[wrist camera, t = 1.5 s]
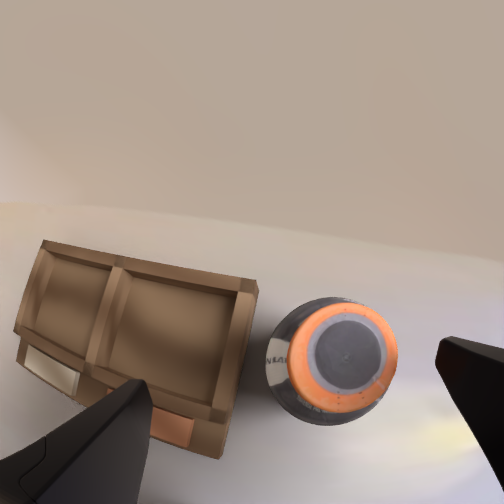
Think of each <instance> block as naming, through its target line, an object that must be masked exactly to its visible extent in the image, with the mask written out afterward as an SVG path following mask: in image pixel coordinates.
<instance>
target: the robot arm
mask: <svg viewBox="0 0 504 504" xmlns="http://www.w3.org/2000/svg"><path fill="white" fill-rule="evenodd" d="M435 365H436V368H437V370H438V372H439V374H440V376H441V378H442V380H443V382H444V384H445V386H446V388H447V390H448V392H449V394H450V396H451V398H452V399H453V401H454V403H455V405H456V406H457V408H458V409H459V411H460V413H461V414H462V416H463V418H464V419H465V421H466V423H467V424H468V426H469V428H470V429H471V431H472V433H473V434H474V436H475V438H476V440H477V441H478V443H479V445H480V447H481V448H482V450H483V452H484V454H485V456H486V458H487V459H488V461H489V463H490V465H491V467H492V469H493V471H494V473H495V475H496V477H497V479H498V481H499V483H500V485H501V487H502V489H503V492H504V349H503V348H499V347H494V346H490V345H486V344H482V343H478V342H474V341H469V340H465V339H461V338H457V337H453V336H450V337H447V338H443V339H442V340H441V341H440V343H439V347H438V351H437V355H436V359H435ZM152 412H153V402H152V398H151V395H150V392H149V390H148V386H147V384H146V382H145V380H143V379H130V380H128V381H127V382H125V383H124V384H122V385H121V386H119V387H118V388H116V389H115V390H113V391H112V392H111V393H109V394H108V395H106V396H105V397H103V398H102V399H100V400H99V401H97V402H96V403H94V404H93V405H91V406H90V407H88V408H87V409H85V410H84V411H82V412H81V413H79V414H78V415H76V416H75V417H73V418H72V419H70V420H69V421H67V422H66V423H64V424H62V425H61V426H59V427H58V428H56V429H55V430H53V431H52V432H50V433H48V434H47V435H46V437H45V436H44V437H42V438H41V439H39V440H37V441H36V442H34V443H32V444H31V445H29V446H27V447H26V448H24V449H22V450H20V451H18V452H16V453H14V454H12V455H10V456H8V457H6V458H4V459H2V460H0V504H137V499H138V494H139V489H140V485H141V480H142V476H143V471H144V467H145V462H146V458H147V453H148V447H149V438H150V429H151V420H152Z"/></svg>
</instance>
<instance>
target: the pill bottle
mask: <svg viewBox="0 0 504 504" xmlns="http://www.w3.org/2000/svg"><path fill="white" fill-rule="evenodd" d="M397 359H398V349H397V344H396V340H395V337H394V334H393V331H392V330H391V328H390V327H389V325H388V324H387V322H386V321H385V320H384V319H383V318H382V317H381V316H380V315H379V314H378V313H376V312H375V311H373V310H372V309H370V308H368V307H366V306H364V305H363V304H360V303H358V302H356V301H353V300H350V299H345V298H338V297H328V298H321V299H317V300H313V301H310V302H307V303H305V304H303V305H301V306H299V307H297V308H296V309H295V310H293V311H292V312H290V313H289V314H288V315H287V316H286V317H285V318H284V319H283V320H282V321H281V322H280V324H279V325H278V326H277V327H276V329H275V331H274V333H273V335H272V337H271V339H270V342H269V345H268V349H267V354H266V375H267V380H268V383H269V386H270V389H271V391H272V393H273V395H274V397H275V398H276V400H277V401H278V403H279V404H280V405H281V406H282V407H283V408H284V409H285V410H286V411H287V412H289V413H290V414H291V415H293V416H294V417H296V418H298V419H300V420H302V421H304V422H307V423H311V424H315V425H322V426H332V425H340V424H344V423H348V422H350V421H353V420H355V419H358V418H360V417H361V416H363V415H365V414H366V413H367V412H369V411H370V410H371V409H372V408H374V407H375V406H376V405H377V404H378V402H379V401H380V400H381V399H382V398H383V396H384V394H385V393H386V391H387V390H388V387H389V385H390V383H391V381H392V378H393V376H394V374H395V371H396V367H397Z"/></svg>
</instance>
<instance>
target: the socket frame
mask: <svg viewBox="0 0 504 504" xmlns="http://www.w3.org/2000/svg"><path fill="white" fill-rule="evenodd" d="M258 293H259V289H258V286H257V282H256V280H252V279H246V278H240V277H234V276H228V275H223V274H217V273H211V272H205V271H200V270H194V269H188V268H183V267H177V266H172V265H167V264H161V263H156V262H151V261H145V260H140V259H135V258H130V257H125V256H120V255H115V254H110V253H105V252H100V251H95V250H90V249H85V248H81V247H76V246H71V245H66V244H62V243H57V242H53V241H48V240H43V243H42V245H41V247H40V250H39V252H38V255H37V257H36V260H35V263H34V265H33V268H32V271H31V274H30V276H29V279H28V282H27V285H26V288H25V291H24V294H23V298H22V301H21V304H20V308H19V311H18V315H17V318H16V322H15V326H14V330H13V332H15V333H16V334H18V335H19V336H21V340H20V345H19V349H18V354H17V359H16V361H17V362H18V363H19V364H21V365H22V366H23V367H25V368H26V369H27V370H29V371H30V372H31V373H33V374H34V375H36V376H37V377H39V378H40V379H42V380H43V381H45V382H46V383H48V384H49V385H51V386H52V387H54V388H55V389H57V390H58V391H60V392H62V393H63V394H65V395H67V396H68V397H70V398H72V399H73V400H75V401H77V402H79V403H80V404H82V405H84V406H86V407H90V406H91V405H93V404H94V403H96V402H97V401H99V400H100V399H102V398H103V397H105V396H106V395H108V394H109V393H111V392H112V391H113V390H115V389H116V388H118V387H119V386H121V385H122V384H124V383H125V382H127V381H128V380H130V379H143V380H145V382H146V384H147V386H148V390H149V392H150V395H151V398H152V402H153V412H152V420H151V429H150V437H152V438H154V439H157V440H159V441H162V442H165V443H167V444H170V445H173V446H176V447H179V448H182V449H185V450H188V451H191V452H194V453H197V454H201V455H204V456H208V457H211V458H215V459H218V460H219V458H220V457H221V456H222V454H223V450H224V446H225V441H226V437H227V433H228V428H229V424H230V420H231V416H232V411H233V407H234V402H235V398H236V394H237V389H238V385H239V380H240V376H241V371H242V367H243V362H244V358H245V353H246V349H247V344H248V340H249V335H250V331H251V326H252V321H253V317H254V312H255V307H256V303H257V298H258Z"/></svg>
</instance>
